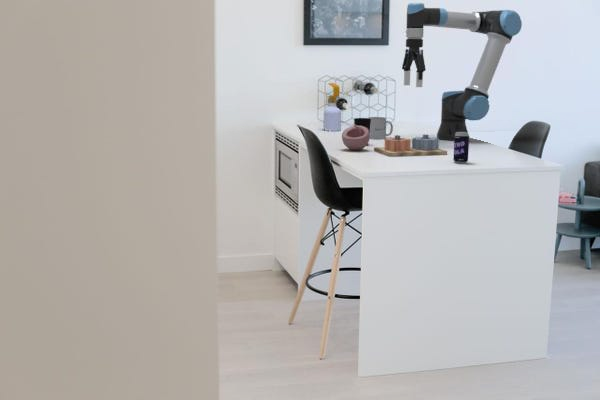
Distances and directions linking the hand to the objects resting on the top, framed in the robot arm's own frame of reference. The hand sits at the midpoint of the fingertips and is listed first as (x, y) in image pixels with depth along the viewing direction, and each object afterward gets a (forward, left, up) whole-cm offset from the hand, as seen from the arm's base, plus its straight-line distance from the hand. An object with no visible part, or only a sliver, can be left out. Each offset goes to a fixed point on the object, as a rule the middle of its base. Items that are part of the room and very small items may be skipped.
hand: (412, 86), depth 383 cm
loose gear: (+17, +24, -25) cm, 39 cm away
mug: (+4, -27, -27) cm, 38 cm away
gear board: (+11, +24, -27) cm, 38 cm away
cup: (+22, -5, -27) cm, 35 cm away
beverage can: (+3, +55, -27) cm, 61 cm away
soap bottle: (+16, -65, -27) cm, 72 cm away
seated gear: (+4, +24, -25) cm, 35 cm away
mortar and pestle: (+31, +11, -27) cm, 42 cm away
